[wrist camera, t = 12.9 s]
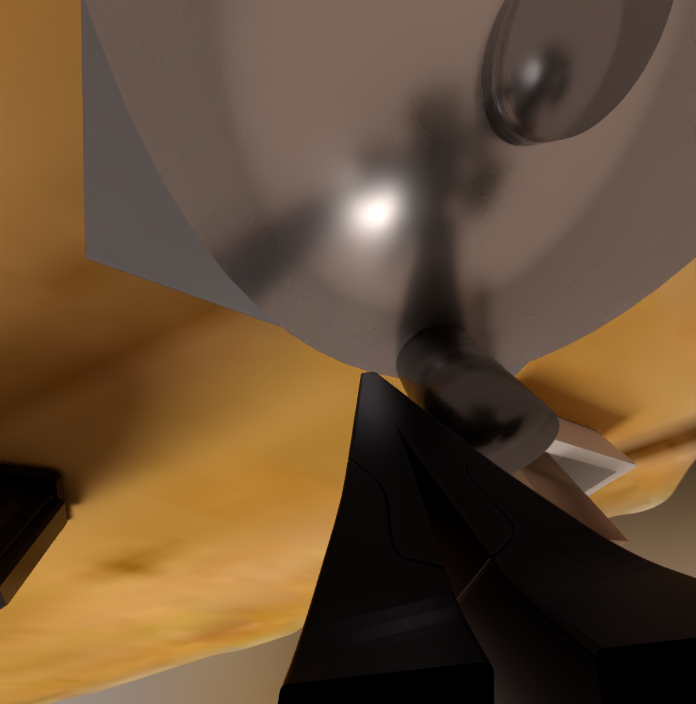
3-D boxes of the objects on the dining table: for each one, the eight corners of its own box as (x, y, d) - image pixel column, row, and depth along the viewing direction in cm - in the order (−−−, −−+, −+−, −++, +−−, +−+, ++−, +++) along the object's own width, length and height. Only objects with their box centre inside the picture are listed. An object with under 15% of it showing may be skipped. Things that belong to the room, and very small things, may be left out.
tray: (393, 494, 21) (404, 535, 19) (492, 393, 16) (526, 430, 13) (491, 508, 25) (512, 543, 23) (596, 431, 20) (637, 465, 17)
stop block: (444, 485, 20) (488, 581, 15) (495, 438, 18) (569, 535, 13) (494, 493, 22) (548, 580, 17) (547, 452, 20) (628, 541, 15)
